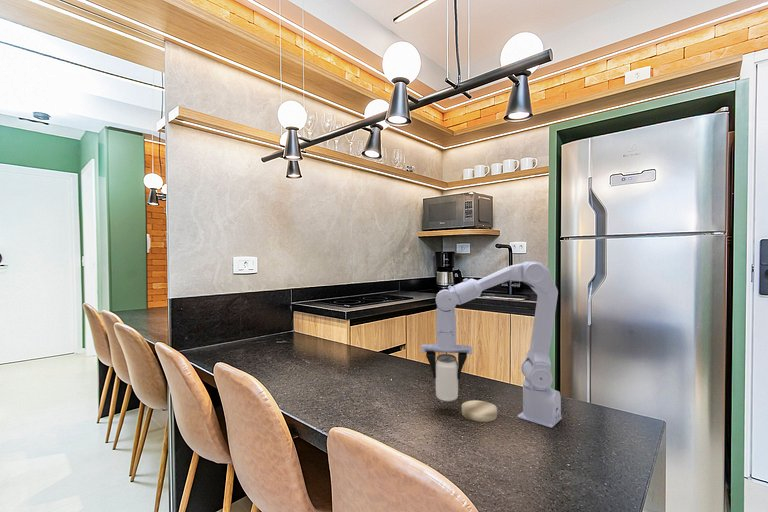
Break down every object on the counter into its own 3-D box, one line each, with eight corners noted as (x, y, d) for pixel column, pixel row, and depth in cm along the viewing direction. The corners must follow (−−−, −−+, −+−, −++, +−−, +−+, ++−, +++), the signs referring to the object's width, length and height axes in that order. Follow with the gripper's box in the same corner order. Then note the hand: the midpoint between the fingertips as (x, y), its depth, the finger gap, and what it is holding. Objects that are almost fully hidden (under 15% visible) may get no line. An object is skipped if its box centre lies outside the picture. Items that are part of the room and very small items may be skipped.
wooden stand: (503, 413, 105) (503, 406, 105) (486, 425, 98) (486, 418, 98) (472, 404, 112) (472, 397, 112) (454, 414, 105) (454, 407, 105)
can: (432, 399, 106) (432, 360, 104) (440, 388, 112) (439, 351, 110) (454, 404, 103) (454, 364, 101) (460, 393, 109) (460, 355, 107)
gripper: (471, 329, 109) (471, 374, 109) (422, 327, 112) (423, 371, 112) (471, 333, 102) (472, 382, 102) (420, 332, 105) (420, 379, 105)
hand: (446, 377), depth 107 cm, fingers closed on can, 6 cm apart
